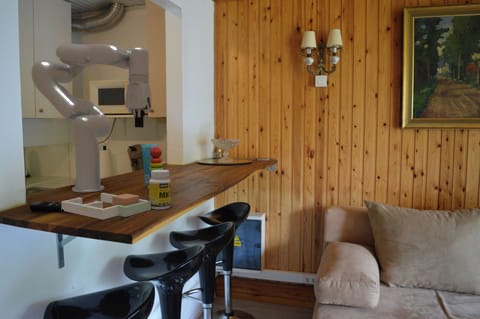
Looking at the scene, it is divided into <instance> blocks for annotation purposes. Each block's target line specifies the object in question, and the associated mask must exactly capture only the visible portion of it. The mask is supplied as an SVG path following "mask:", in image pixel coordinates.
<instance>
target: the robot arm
mask: <svg viewBox="0 0 480 319" xmlns="http://www.w3.org/2000/svg"><path fill="white" fill-rule="evenodd" d="M55 55H56V58H57V59H58V60H59V62H56V61H52V60H45V59H43V60H38V61H36V62H35V63H34V64H33V65H32V68H31V80H32V83H33V85H34V87H35V88H36V89H37V90H38V92H40V94H42V96H44V98H45V99H47V100H48V102H49V103H50V104H51V105H52V106H53V107H54V108H55V110H57V111H58V113H59V114H61V116H62V117H63V118H64V119H66V120H68V121H69V120H70V121H72V123H71V132H72V136H73V139H74V140H73V141H74V153H75V155H74V157H75V179H74V180H72V184H74V186H73V187H72V188H71V191H72V192H75V193H95V192H101V191H104V190H105V186H104V185H101V152H100V143H99V142H98V138H104V137H107V136H108V135H110V133H111V131H112V123H111V121H110V119H109V118H108V117H107V116H106V115H105V114H104V112H103V111H102V110H101V109H100V108H99V107H98V106H97V105H96V104H95V103H94V102H93V101H91V100H89V99H86V98H80V97H79V98H78V97H75V96H74V95H72V94H71V92H69V91H68V89H67V88H66V87H64V86H63V85H61V84H70V83H71V82H72V81H74V80H75V79H76V78H77V77H78V76H79V75H80V74H81V73H82V72H83V71H84V70H85V69H86V68H87V67H95V66H96V65H105V66H113V67H117V68H120V69H124V70H128V83H127V85H126V90H125V91H126V93H125V109H127V110H128V113H131V114H132V115H133V118H134V128H140V129H141V128H144V127H145V124H144V123H145V122H144V121H145V119H144V118H145V117H146V114H148V113H150V112H151V108H152V91H151V85H150V79H149V78H150V74H149V73H150V72H149V71H150V70H149V68H150V66H149V64H150V63H149V57H150V56H149V51H148V49H147V48H144V47H130V48H129V49H125V48H123V47H120V46H117V45H113V44H100V43H92V44H85V43H84V44H81V43H80V44H79V43H71V42H70V43H66V42H65V43H61V44H59V45H58V46H57V48H56V50H55Z"/></svg>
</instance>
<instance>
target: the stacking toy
mask: <svg viewBox="0 0 480 319" xmlns="http://www.w3.org/2000/svg"><path fill="white" fill-rule="evenodd" d="M162 154H163V151H162V149H161V148H160V147H159V146H158V147H153V148H151V150H150V155H151V157H153V158H151V159H150V162H152V163H150V168H149V171H150V172H149V178H148V179H149V181H150V179H152V177H151V171H152V170H164V167H163V166H164V164H163V159H162V157H161V156H162ZM148 184H149V182H148ZM147 190H149V185H148V186H147Z"/></svg>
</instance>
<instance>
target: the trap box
mask: <svg viewBox="0 0 480 319" xmlns="http://www.w3.org/2000/svg"><path fill="white" fill-rule="evenodd" d="M113 196H118V194H111V193H106V192H101V193H100V201H99V200H94V201H93V202H90V203H84V204H83V198H82V197H76V198H71V199H67V200H61V210H62V209H63V210H64V211H63V212H67V213H71V214H76V215H80V216H85V217H90V218H94V219H99V220H102V221H103V220H106V219H110V218H113V217H114V218H115V217H124V218H127V217H130V216H134V215H137V214H138V215H139V214H140V213H144V212H149V211H151V210H152V209H151V201H149V200H146V199H140V198H139V203H137V204H133V205H129V206H121V205H117V206H113V207H112V206H109V207H105V208H104V203H108V204H112V197H113Z"/></svg>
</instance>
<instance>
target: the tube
mask: <svg viewBox="0 0 480 319" xmlns="http://www.w3.org/2000/svg"><path fill="white" fill-rule="evenodd" d="M140 145H141V153H142V154H141V155H142V164H143V175H144V176H143V177H144V178H143V180H144V185H145V187H146V186H147V187H148V185H149V184H148V182H149V179H148V178H149V172H150V171H149V168H150V163H152V162H150V159H151V158H153V157H151V155H150V150H151V148H153V147H159V143H141V144H140Z"/></svg>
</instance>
